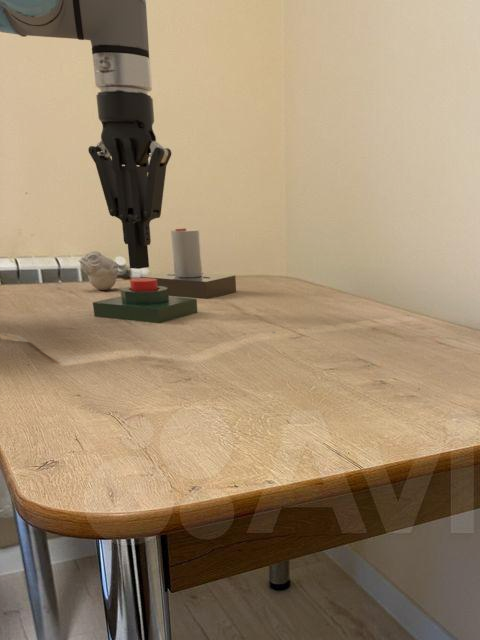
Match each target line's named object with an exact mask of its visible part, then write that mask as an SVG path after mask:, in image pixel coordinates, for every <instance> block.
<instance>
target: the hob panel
mask: <svg viewBox="0 0 480 640" xmlns="http://www.w3.org/2000/svg"><path fill="white" fill-rule="evenodd" d="M139 278H154V279H157V284H158V286H163V287H167V288H168V294H169V296H170V297H181V298H193V299H200V300H201V299H202V300H208V299H213V298H217V297H221V296H224V295H225V296H226V295H229V294H233V293H236V292H237V281H236V280H237V279H236V274H235V275H234V274H221V273H209V272H203V271H202V276H200V277H189V278H185V277H176V276H175V274H174V270H170V271H164V272H160V273H153V274H148V275H143V276H140V277H139Z"/></svg>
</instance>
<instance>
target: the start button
mask: <svg viewBox="0 0 480 640" xmlns="http://www.w3.org/2000/svg"><path fill="white" fill-rule="evenodd" d="M129 286H131V290H133V291H152V290H158V284H157V279H154V278H140V277H137V278H131V279H129Z"/></svg>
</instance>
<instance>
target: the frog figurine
mask: <svg viewBox="0 0 480 640" xmlns="http://www.w3.org/2000/svg"><path fill="white" fill-rule="evenodd" d="M78 262H79V265H80V269H82V271H83V273H85V274H86V275H87V278H88V281H89V283H90V284H91V286H92V287H93V288H95V289H96V290H99V291H108V290H111V289H112V288H113V287H114V286H115V284H116V282H117V277H118V275H119V269H118V268H119V264H118V263H117V262H116V261H114V260H113V259H111V258H110V257H109V258H108V257H106V256H105V255H103V254H102V253H101V252H99V251H97V250H94V251H90V252H86V253H85V254H84V256H82V257H81V258H80V259H78Z"/></svg>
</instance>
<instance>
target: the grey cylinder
mask: <svg viewBox="0 0 480 640" xmlns="http://www.w3.org/2000/svg"><path fill="white" fill-rule="evenodd" d="M170 237H171V238H170V239H171V248H172V249H171V250H172V262H173V271H174V274H175V276H176V277H185V278H189V277H200V276H202V272H203V266H202V251H201V250H202V249H201V237H200V230H199V229H195V228H185V227H182V228H181V227H180V228H174V229H171V230H170Z"/></svg>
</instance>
